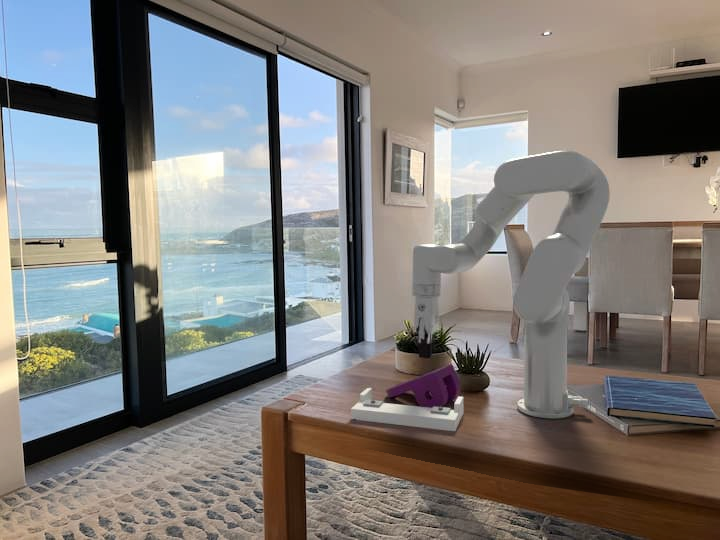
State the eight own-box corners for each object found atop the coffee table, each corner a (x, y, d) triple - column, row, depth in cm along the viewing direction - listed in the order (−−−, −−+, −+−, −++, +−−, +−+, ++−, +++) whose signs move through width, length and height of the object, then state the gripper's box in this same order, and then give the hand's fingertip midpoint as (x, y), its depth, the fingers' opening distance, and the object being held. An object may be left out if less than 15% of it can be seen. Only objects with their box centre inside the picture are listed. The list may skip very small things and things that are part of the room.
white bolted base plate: (463, 413, 120) (463, 396, 120) (455, 431, 110) (455, 413, 109) (367, 403, 129) (367, 387, 128) (351, 419, 118) (350, 402, 118)
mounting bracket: (391, 424, 130) (448, 406, 120) (378, 392, 132) (434, 372, 121) (410, 413, 138) (465, 395, 127) (398, 383, 139) (452, 363, 129)
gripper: (434, 294, 129) (432, 365, 130) (445, 287, 143) (444, 352, 144) (405, 293, 131) (404, 362, 133) (419, 286, 145) (418, 349, 147)
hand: (425, 357), depth 139 cm, fingers closed
